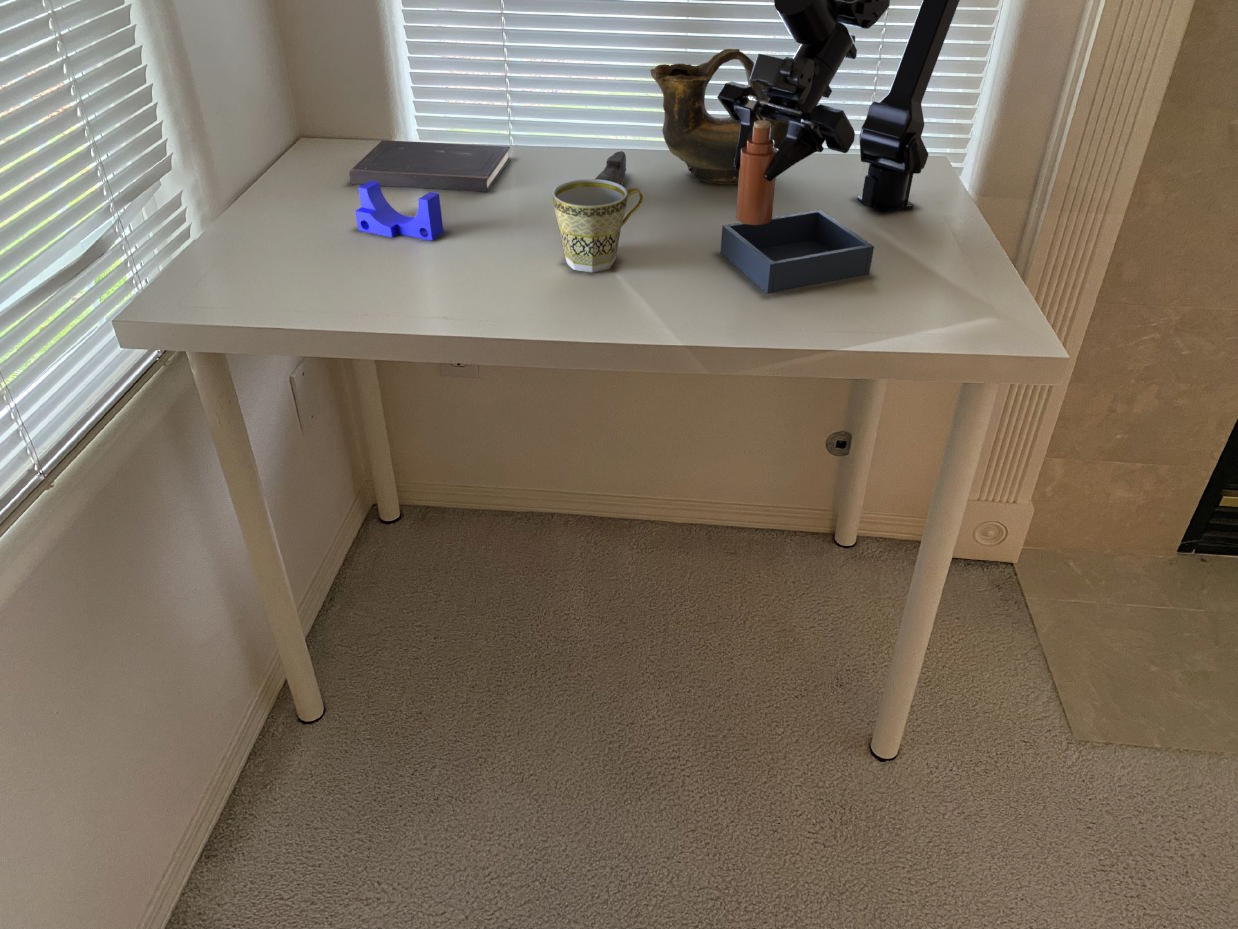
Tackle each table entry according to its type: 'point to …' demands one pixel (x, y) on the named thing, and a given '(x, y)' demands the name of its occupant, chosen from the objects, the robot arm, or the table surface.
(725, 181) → the pottery vessel
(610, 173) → the hand tool
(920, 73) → the robot arm
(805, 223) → the bin
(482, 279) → the table surface
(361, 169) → the hardcover book
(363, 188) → the blue mounting bracket
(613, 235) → the ceramic cup
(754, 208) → the bottle
